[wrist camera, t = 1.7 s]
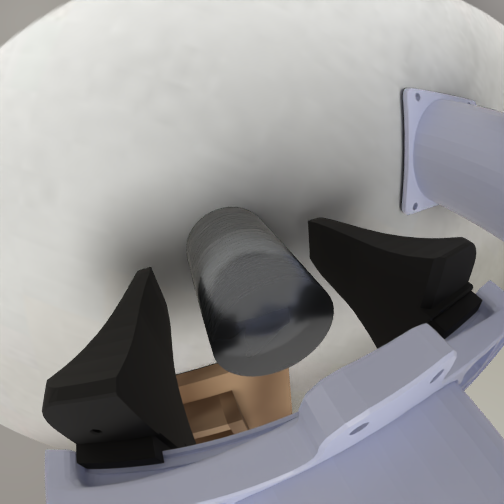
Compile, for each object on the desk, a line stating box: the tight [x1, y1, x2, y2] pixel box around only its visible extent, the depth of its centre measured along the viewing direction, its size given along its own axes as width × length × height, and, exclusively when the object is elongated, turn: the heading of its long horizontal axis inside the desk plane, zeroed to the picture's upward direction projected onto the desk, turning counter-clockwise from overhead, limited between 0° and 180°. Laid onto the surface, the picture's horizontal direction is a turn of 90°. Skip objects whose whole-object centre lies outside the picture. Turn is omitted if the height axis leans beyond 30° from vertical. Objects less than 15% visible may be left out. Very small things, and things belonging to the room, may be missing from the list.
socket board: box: [176, 363, 292, 444], centre depth 18 cm, size 16×12×4 cm
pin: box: [186, 207, 334, 377], centre depth 11 cm, size 4×4×6 cm
